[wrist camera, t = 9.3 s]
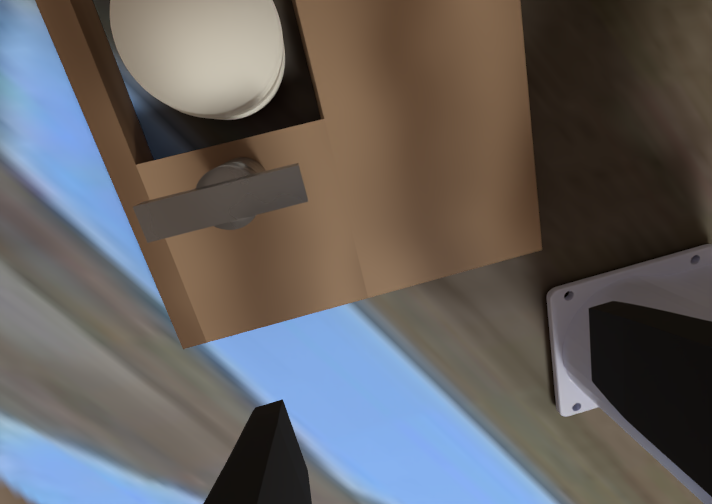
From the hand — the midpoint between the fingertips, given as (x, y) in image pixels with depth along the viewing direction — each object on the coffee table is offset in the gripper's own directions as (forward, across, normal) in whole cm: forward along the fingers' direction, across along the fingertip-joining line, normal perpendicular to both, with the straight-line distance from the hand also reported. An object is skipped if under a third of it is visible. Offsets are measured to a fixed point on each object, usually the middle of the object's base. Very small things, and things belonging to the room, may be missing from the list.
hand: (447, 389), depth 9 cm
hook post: (+9, +4, -5) cm, 10 cm away
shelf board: (+10, 0, -6) cm, 12 cm away
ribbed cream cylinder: (+11, +4, -9) cm, 14 cm away
